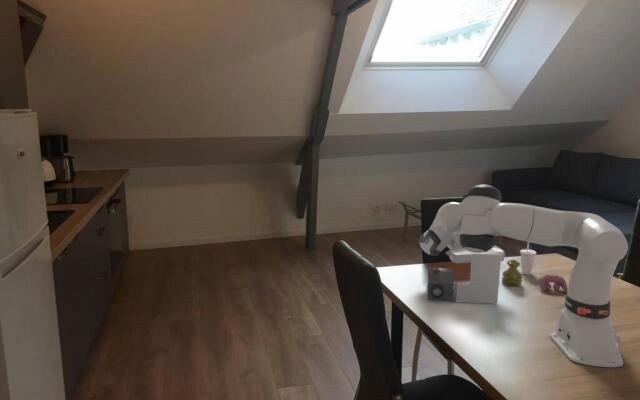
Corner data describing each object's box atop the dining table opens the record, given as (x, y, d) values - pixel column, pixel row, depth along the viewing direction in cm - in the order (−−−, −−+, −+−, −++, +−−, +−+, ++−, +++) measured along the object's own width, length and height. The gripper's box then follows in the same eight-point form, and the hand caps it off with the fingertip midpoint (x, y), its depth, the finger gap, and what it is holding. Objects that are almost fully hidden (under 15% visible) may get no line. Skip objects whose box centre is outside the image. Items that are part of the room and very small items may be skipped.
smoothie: (514, 271, 211) (517, 240, 208) (525, 269, 213) (528, 238, 210) (526, 276, 205) (529, 244, 202) (538, 274, 208) (541, 242, 205)
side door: (453, 302, 180) (456, 253, 176) (452, 301, 181) (455, 252, 177) (497, 304, 178) (501, 254, 174) (496, 302, 179) (500, 253, 175)
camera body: (452, 304, 179) (454, 283, 177) (427, 301, 181) (428, 281, 179) (450, 285, 196) (451, 267, 194) (427, 283, 197) (428, 265, 196)
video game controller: (564, 293, 192) (562, 275, 194) (569, 292, 187) (567, 274, 189) (538, 292, 193) (536, 274, 194) (542, 291, 188) (541, 273, 190)
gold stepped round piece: (525, 286, 195) (527, 262, 193) (509, 288, 193) (511, 264, 191) (513, 279, 202) (515, 256, 200) (497, 281, 200) (499, 258, 198)
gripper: (444, 243, 189) (459, 255, 176) (494, 241, 192) (513, 252, 179) (443, 259, 190) (458, 272, 177) (493, 256, 193) (511, 269, 180)
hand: (486, 262), depth 178 cm, fingers closed
